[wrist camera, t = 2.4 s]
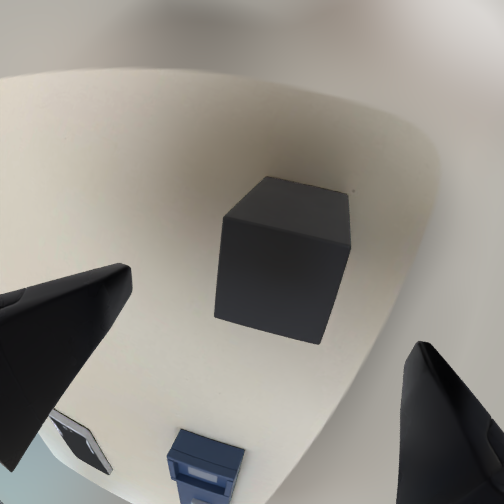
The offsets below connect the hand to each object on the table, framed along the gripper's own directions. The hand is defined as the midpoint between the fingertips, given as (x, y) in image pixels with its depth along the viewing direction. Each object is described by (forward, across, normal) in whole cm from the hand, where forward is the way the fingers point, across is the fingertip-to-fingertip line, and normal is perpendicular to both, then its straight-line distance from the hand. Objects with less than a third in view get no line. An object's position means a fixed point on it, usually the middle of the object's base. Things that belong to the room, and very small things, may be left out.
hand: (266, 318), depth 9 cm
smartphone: (+8, +24, +42) cm, 49 cm away
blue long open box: (+8, +3, +32) cm, 33 cm away
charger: (+8, 0, 0) cm, 8 cm away
